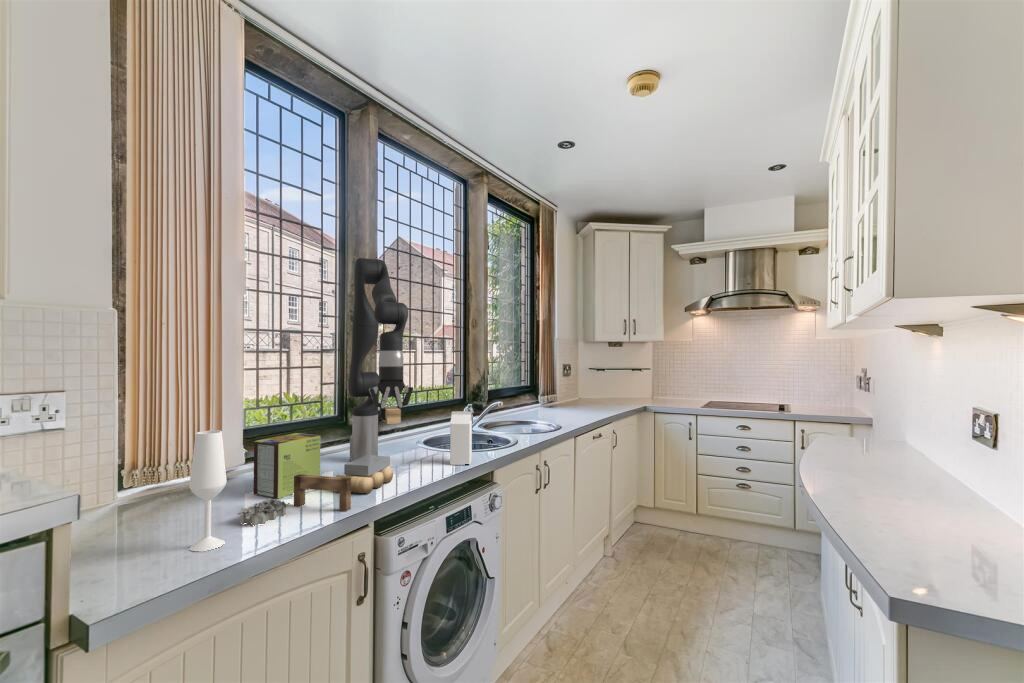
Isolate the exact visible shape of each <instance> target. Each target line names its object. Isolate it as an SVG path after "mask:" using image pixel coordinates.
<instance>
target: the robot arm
mask: <svg viewBox="0 0 1024 683" xmlns="http://www.w3.org/2000/svg"><path fill="white" fill-rule="evenodd" d="M353 276H354V279H353V280H354V281H353V282H354V302H353V303H354V306H353V317H352V327H351V328H352V333H351V336H352V337H351V338H352V339H351V355H350V356H351V358H350V365H349V366H350V367H349V373H348V381H347V382H348V385H347V388H348V394H349V395H350V397H352V398H360V397H361V398H364V397H367V399H366V400H365V401H364V402H363V403H361V404H358V405H356V406H354V407H353V408H352V412H351V413H352V420H351V421H352V424H351V425H352V427H351V428H352V429H351V430H352V434H351V435H350V436H349V462H350V461H354V460H356V459H359V458H362V457H364V456H367V455H375V456H379V453H378V451H379V418H380V419H381V420H382V421H383V420H385V407H386V403H387V401H388V399H389V398H394V399H395V402H396V406H397V408H399V409H401V418H402V417H403V407H404V406H408V405H409V402H410V400H411V397H412V393H413V391H414V388H413V387H412V386H407V385H405V382H404V354H403V341H404V333H405V330H406V329H405V328H406V325H407V322H408V318H409V308H408V306H407V305H406V304H405V303H404V302H397V297H396V295H395V292H394V290H393V288H392V286H391V285H392V284H391V280H390V275H389V271H388V266H387V265H386V262H385V261H384V260H381V259H375V258H367V257H366V258H364V257H358V258H357V259H356V260H355V265H354V275H353ZM365 284H366V285H374V286H373V288H372V290H371V297H372V298H371V299H372V301H373V303H374V305H375V307H374V308H373V307H372V305H371V303H370V301H369V299H368V296H367V294H366V288H365ZM380 324H381V325H395V327H394V329H393V330H390V331H384V332H382V333H380V335H379V325H380ZM378 338H379V355H378V372H376V371H362V372H361V370H362V366H363V363H364V361H365V359H366V357H367V355H368V354H369V352H371V351H372V349H373V347H374V346H375V344H376V342H377V341H378ZM403 390H404V392H405V395H404V397H403V401H402V397H401V394H402V392H403ZM380 394H381V399H380Z"/></svg>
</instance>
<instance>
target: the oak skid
mask: <svg viewBox="0 0 1024 683" xmlns="http://www.w3.org/2000/svg"><path fill="white" fill-rule="evenodd" d="M382 421H383V422H384V423H386V424H387V425H395V424H397V425H398V424H401V423H402V417H401V409H399V408H397V407H396V406H394V405H393V406H385V420H382Z"/></svg>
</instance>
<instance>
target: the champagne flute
mask: <svg viewBox="0 0 1024 683" xmlns="http://www.w3.org/2000/svg"><path fill="white" fill-rule="evenodd" d="M224 450H225V449H224V441H223V431H222V430H217V429H214V430H202V431H198V432H195V437H194V445H193V452H192V453H193V454H192V460H191V461H192V462H191V471H190V477H189V486H188V487H189V489H190V491H191V493H192V494H193V495H195V496H197V497H198V498H199V499H201V500H203V501H204V522H203V523H204V525H203V526H204V531H203V532H204V534H203V536H204V537H202V538H200V540H197V542H195V543H194V544H192V545H190V546H189V547H190V549H191V550H193V551H206V552H208V551H207V550H211V549H214V550H216V549H215V548H217V549H219V548H218V547H220V548H221V546H222V545H223V544H225V545H226V543H225V542H226V541H225V540H223V539H220V538H218V537H215V536H212V500H213V499H214V498H215V497H217V496H218V495H219V494H220V493H221V492H222V491H223V490H224V488H225V487H226V485H227V472H226V460H225V451H224ZM223 546H224V545H223ZM223 546H222V547H223ZM211 551H212V550H211Z"/></svg>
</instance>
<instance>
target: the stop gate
mask: <svg viewBox="0 0 1024 683" xmlns="http://www.w3.org/2000/svg"><path fill="white" fill-rule="evenodd" d="M305 489H308V490H314V491H315V490H316V491H326V492H327V491H329V492H338V493H339V501H338V502H339V504H338V505H339V509H338V511H340V512H348V511H350V510H351V509H352V507H351V506H352V505H351V504H352V502H351V501H352V492H351V478H341V477H336V476H328V475H320V476H316V475H303V474H298V475H296V476H294V494H293V507H295V506H301V507H303V506H305V505H306V490H305ZM304 504H305V505H304ZM302 505H303V506H302Z"/></svg>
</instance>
